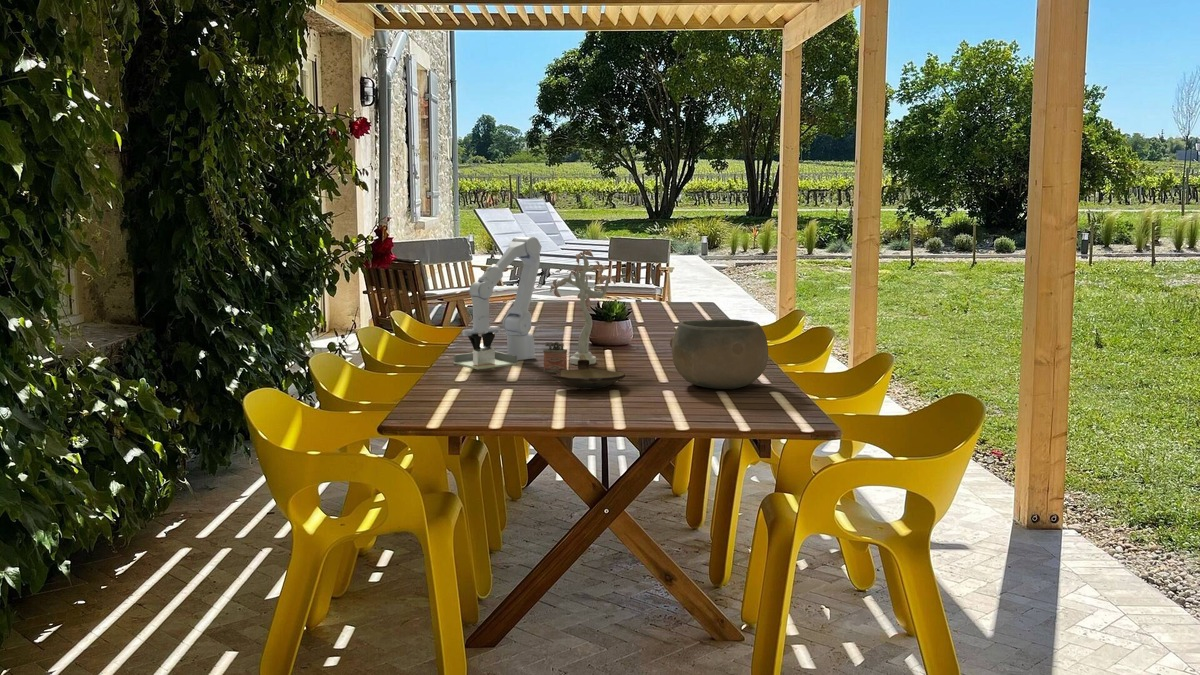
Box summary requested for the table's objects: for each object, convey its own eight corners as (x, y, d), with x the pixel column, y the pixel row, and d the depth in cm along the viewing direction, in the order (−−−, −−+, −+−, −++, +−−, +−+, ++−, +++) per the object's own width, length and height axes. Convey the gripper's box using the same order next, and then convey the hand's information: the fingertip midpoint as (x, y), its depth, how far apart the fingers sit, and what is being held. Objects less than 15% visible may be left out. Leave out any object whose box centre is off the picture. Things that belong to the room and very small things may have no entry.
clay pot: (655, 381, 315) (656, 319, 312) (739, 375, 325) (740, 314, 323) (697, 399, 288) (698, 331, 285) (787, 392, 298) (788, 325, 295)
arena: (492, 358, 360) (492, 350, 360) (517, 364, 348) (516, 355, 348) (453, 363, 351) (453, 354, 350) (477, 369, 338) (477, 360, 338)
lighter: (568, 370, 335) (567, 341, 334) (566, 372, 332) (566, 342, 330) (544, 370, 336) (544, 341, 335) (542, 372, 333) (542, 342, 331)
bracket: (494, 362, 345) (494, 348, 344) (477, 365, 341) (477, 351, 340) (480, 357, 352) (480, 343, 351) (463, 360, 348) (463, 346, 347)
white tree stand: (556, 355, 367) (554, 246, 362) (619, 356, 365) (619, 246, 360) (545, 368, 340) (543, 251, 334) (613, 369, 338) (613, 251, 332)
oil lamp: (542, 394, 296) (541, 369, 295) (568, 376, 325) (568, 353, 324) (615, 397, 291) (615, 371, 290) (635, 379, 320) (636, 355, 319)
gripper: (492, 313, 354) (493, 351, 356) (457, 316, 345) (458, 355, 347) (503, 315, 349) (504, 353, 351) (467, 318, 340) (468, 358, 342)
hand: (481, 354), depth 349 cm, fingers closed on bracket, 3 cm apart
